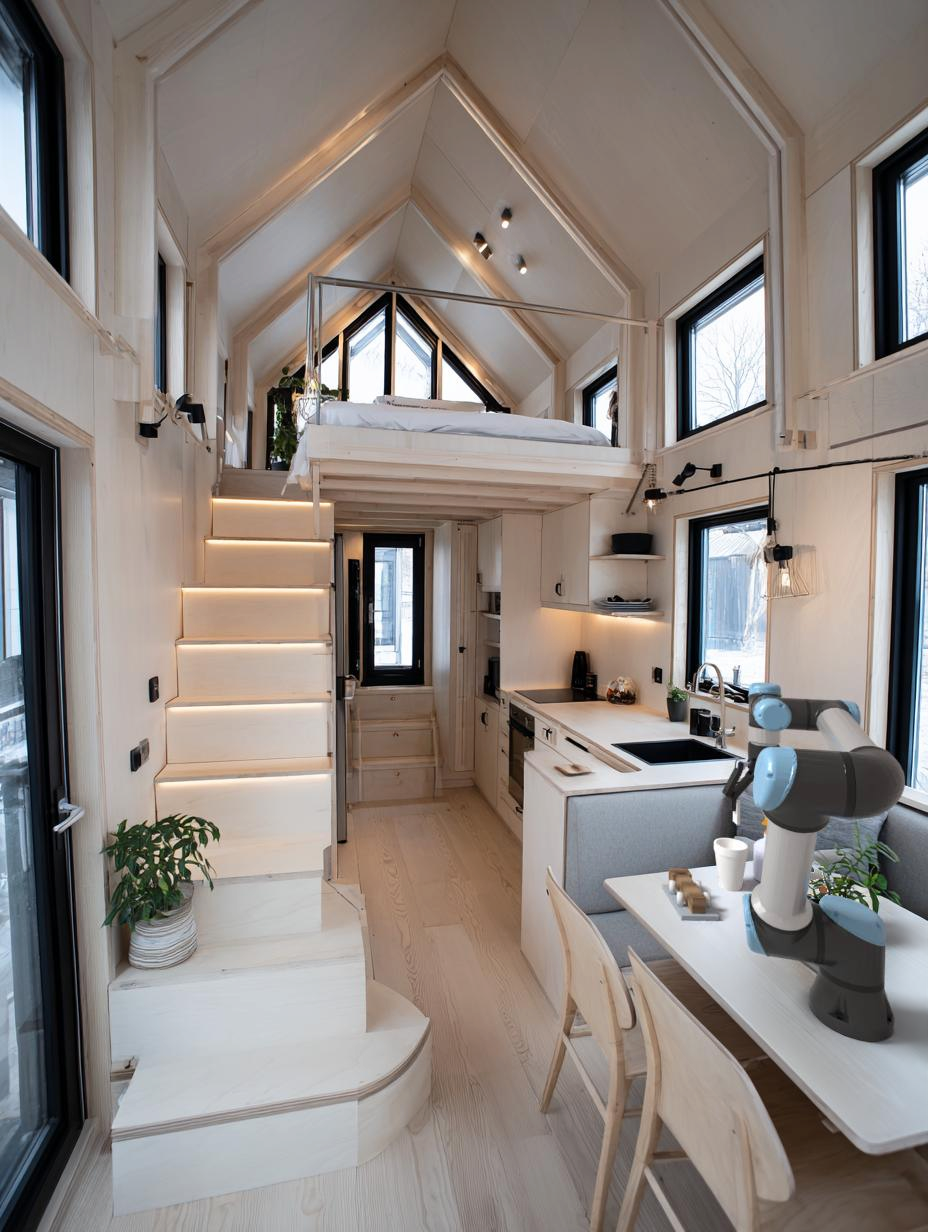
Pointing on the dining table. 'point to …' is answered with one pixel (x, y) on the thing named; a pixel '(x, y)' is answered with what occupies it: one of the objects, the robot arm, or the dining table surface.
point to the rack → (682, 908)
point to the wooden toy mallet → (688, 890)
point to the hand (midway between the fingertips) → (762, 823)
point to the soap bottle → (759, 854)
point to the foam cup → (730, 862)
